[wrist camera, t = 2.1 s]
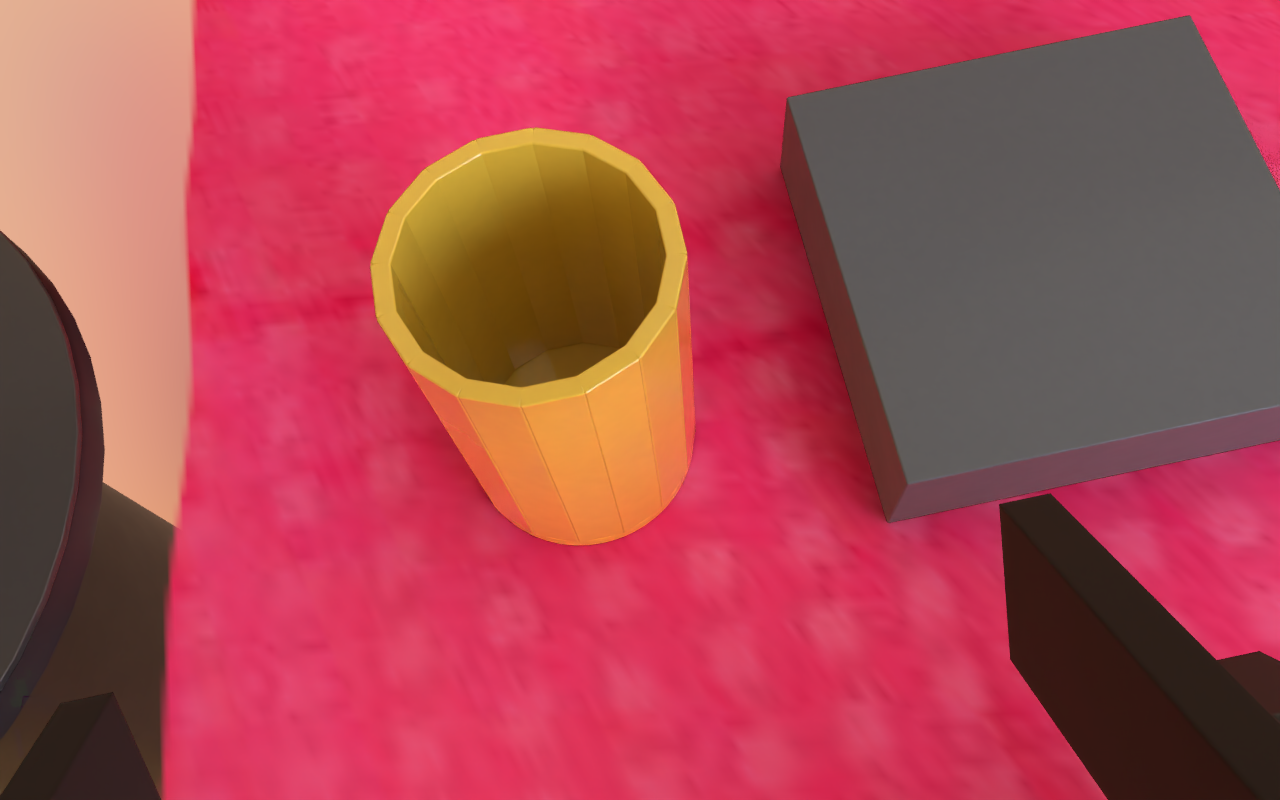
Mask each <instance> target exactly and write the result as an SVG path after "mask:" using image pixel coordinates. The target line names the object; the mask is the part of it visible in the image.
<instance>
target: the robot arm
mask: <svg viewBox="0 0 1280 800" xmlns="http://www.w3.org/2000/svg"><path fill="white" fill-rule="evenodd" d="M999 506H1000V521H1001V535H1002V549H1003V563H1004V577H1005V591H1006V605H1007V619H1008V633H1009V647H1010V660H1011V661H1012V662H1013V664H1014V665H1015V667H1016V668H1017V670H1018V671H1019V672H1020V674H1021V675H1022V677H1023V678H1024V680H1025V681H1026V683H1027V684H1028V685H1029V687H1030V688H1031V690H1032V691H1033V693H1034V694H1035V695H1036V697H1037V698H1038V700H1039V701H1040V703H1041V704H1042V705H1043V707H1044V708H1045V710H1046V711H1047V713H1048V714H1049V716H1050V717H1051V718H1052V720H1053V721H1054V723H1055V724H1056V726H1057V727H1058V728H1059V730H1060V731H1061V733H1062V734H1063V736H1064V737H1065V739H1066V740H1067V741H1068V743H1069V744H1070V746H1071V747H1072V749H1073V750H1074V751H1075V753H1076V754H1077V756H1078V757H1079V759H1080V760H1081V761H1082V763H1083V764H1084V766H1085V767H1086V769H1087V770H1088V772H1089V773H1090V774H1091V776H1092V777H1093V779H1094V780H1095V782H1096V783H1097V784H1098V786H1099V787H1100V789H1101V790H1102V792H1103V793H1104V794H1105V796H1106V797H1107V799H1108V800H1280V661H1278V660H1276V659H1274V658H1272V657H1270V656H1268V655H1266V654H1264V653H1262V652H1260V651H1258V652H1253V653H1249V654H1244V655H1239V656H1235V657H1230V658H1225V659H1221V660H1216V659H1215V658H1214V657H1213V656H1212V655H1211V654H1210V653H1209V652H1208V651H1207V650H1206V649H1205V648H1204V647H1203V646H1202V645H1201V644H1200V643H1199V642H1198V641H1197V640H1196V639H1195V638H1194V637H1193V636H1192V635H1191V634H1190V633H1189V632H1188V631H1187V630H1186V629H1185V628H1184V627H1183V626H1182V625H1181V624H1180V623H1179V622H1178V621H1177V620H1176V619H1175V618H1174V617H1173V616H1172V615H1171V614H1170V613H1169V612H1168V611H1167V610H1166V609H1165V608H1164V607H1163V606H1162V605H1161V604H1160V603H1159V602H1158V601H1157V600H1156V599H1155V598H1154V597H1153V596H1152V595H1151V594H1150V593H1149V592H1148V591H1147V590H1146V589H1145V588H1144V587H1143V586H1142V585H1141V584H1140V583H1139V582H1138V581H1137V580H1136V579H1135V578H1134V577H1133V576H1132V575H1131V574H1130V573H1129V572H1128V571H1127V570H1126V569H1125V568H1124V567H1123V566H1122V565H1121V564H1120V563H1119V562H1118V561H1117V560H1116V559H1115V558H1114V557H1113V556H1112V555H1111V554H1110V553H1109V552H1108V551H1107V550H1106V549H1105V548H1104V547H1103V546H1102V545H1101V544H1100V543H1099V542H1098V541H1097V540H1096V539H1095V538H1094V537H1093V536H1092V535H1091V534H1090V533H1089V532H1088V531H1087V530H1086V529H1085V528H1084V527H1083V526H1082V525H1081V524H1080V523H1079V522H1078V521H1077V520H1076V519H1075V518H1074V517H1073V516H1072V515H1071V514H1070V513H1069V512H1068V511H1067V510H1066V509H1065V508H1064V507H1063V506H1062V505H1061V504H1060V503H1059V502H1058V501H1057V500H1056V499H1055V498H1054V497H1053V496H1052V495H1051V494H1045V495H1041V496H1036V497H1031V498H1027V499H1022V500H1017V501H1012V502H1008V503H1003V504H999ZM0 800H161V798H160V796H159V794H158V792H157V789H156V787H155V785H154V783H153V780H152V778H151V776H150V774H149V772H148V769H147V767H146V765H145V763H144V760H143V758H142V756H141V754H140V751H139V749H138V747H137V745H136V743H135V740H134V738H133V736H132V734H131V731H130V729H129V727H128V725H127V722H126V720H125V718H124V716H123V714H122V711H121V709H120V707H119V705H118V702H117V700H116V698H115V696H114V694H113V692H111V693H107V694H102V695H97V696H93V697H88V698H83V699H78V700H74V701H69V702H64V703H60V705H59V706H58V708H57V709H56V711H55V713H54V714H53V716H52V717H51V719H50V720H49V722H48V723H47V725H46V726H45V728H44V729H43V731H42V733H41V734H40V736H39V737H38V739H37V740H36V742H35V743H34V745H33V746H32V748H31V750H30V751H29V753H28V754H27V756H26V757H25V759H24V760H23V762H22V763H21V765H20V767H19V768H18V770H17V771H16V773H15V774H14V776H13V777H12V779H11V780H10V782H9V784H8V785H7V787H6V788H5V790H4V791H3V793H2V794H1V796H0Z"/></svg>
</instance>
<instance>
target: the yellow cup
mask: <svg viewBox="0 0 1280 800" xmlns="http://www.w3.org/2000/svg"><path fill="white" fill-rule="evenodd" d="M370 271H371V280H372V289H373V297H374V306H375V314H376V318H377V322H378V323H379V325H380V326H381V328H382V329H383V331H384V333H385V334H386V336H387V337H388V339H389V341H390V342H391V344H392V345H393V347H394V348H395V350H396V352H397V353H398V355H399V356H400V358H401V360H402V361H403V363H404V364H405V366H406V367H407V369H408V371H409V372H410V374H411V375H412V377H413V379H414V380H415V382H416V383H417V385H418V386H419V388H420V390H421V391H422V393H423V394H424V396H425V398H426V399H427V401H428V402H429V404H430V406H431V407H432V409H433V410H434V412H435V413H436V415H437V417H438V418H439V420H440V421H441V423H442V425H443V426H444V428H445V429H446V431H447V432H448V434H449V436H450V437H451V439H452V440H453V442H454V444H455V445H456V447H457V448H458V450H459V451H460V453H461V455H462V456H463V458H464V459H465V461H466V463H467V464H468V466H469V467H470V469H471V470H472V472H473V474H474V475H475V477H476V478H477V480H478V481H479V483H480V485H481V486H482V488H483V489H484V491H485V492H486V494H487V495H488V497H489V499H490V500H491V502H492V503H493V505H494V506H495V508H496V509H497V510H498V511H499V512H500V513H502V514H503V515H504V516H505V517H506V518H507V519H508V520H509V521H510V522H512V523H513V524H514V525H516V526H517V527H518V528H520V529H522V530H523V531H525V532H527V533H529V534H531V535H533V536H535V537H538V538H540V539H543V540H546V541H550V542H554V543H558V544H566V545H593V544H600V543H605V542H609V541H612V540H616V539H619V538H621V537H624V536H626V535H629V534H631V533H633V532H635V531H636V530H638V529H640V528H642V527H643V526H645V525H646V524H648V523H649V522H650V521H652V520H653V519H654V518H656V517H657V516H658V515H659V514H660V513H661V512H662V511H663V510H664V509H665V508H666V507H667V506H668V504H669V503H670V502H671V501H672V499H673V498H674V497H675V495H676V494H677V492H678V491H679V489H680V487H681V485H682V484H683V482H684V479H685V477H686V475H687V472H688V470H689V466H690V462H691V458H692V453H693V445H694V435H695V409H694V388H693V366H692V345H691V323H690V302H689V280H688V259H687V250H686V246H685V242H684V238H683V234H682V230H681V226H680V222H679V218H678V214H677V210H676V206H675V204H674V202H673V200H672V199H671V198H670V196H669V195H668V194H667V193H666V191H665V190H664V189H663V188H662V187H661V185H660V184H659V183H658V182H657V180H656V179H655V178H654V177H653V176H652V174H651V173H650V172H649V171H648V169H647V168H646V167H645V166H644V165H643V163H642V162H640V161H639V159H637V158H635V157H633V156H631V155H629V154H627V153H625V152H623V151H622V150H620V149H618V148H616V147H614V146H612V145H610V144H608V143H606V142H604V141H602V140H601V139H599V138H597V137H595V136H593V135H589V134H583V133H575V132H567V131H559V130H551V129H543V128H527V129H522V130H517V131H512V132H507V133H502V134H497V135H492V136H487V137H482V138H478V139H476V140H473V141H471V142H469V143H467V144H466V145H464V146H462V147H460V148H459V149H457V150H455V151H454V152H452V153H450V154H448V155H447V156H445V157H443V158H441V159H440V160H438V161H436V162H435V163H433V164H431V165H429V166H428V167H426V168H425V169H424V170H422V172H421V173H420V174H419V175H418V176H417V177H416V179H415V180H414V181H413V182H412V183H411V185H410V186H409V187H408V188H407V189H406V190H405V192H404V193H403V194H402V195H401V196H400V197H399V199H398V200H397V201H396V202H395V203H394V205H393V206H392V207H391V208H390V209H389V211H388V213H387V214H386V217H385V220H384V224H383V227H382V230H381V233H380V236H379V239H378V242H377V245H376V248H375V251H374V254H373V257H372V260H371V266H370Z"/></svg>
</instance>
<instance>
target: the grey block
mask: <svg viewBox="0 0 1280 800" xmlns="http://www.w3.org/2000/svg"><path fill="white" fill-rule="evenodd" d="M780 167H781V170H782V174H783V177H784V180H785V184H786V187H787V190H788V194H789V197H790V200H791V204H792V207H793V210H794V214H795V217H796V220H797V224H798V227H799V230H800V234H801V237H802V240H803V244H804V247H805V250H806V254H807V257H808V260H809V264H810V267H811V270H812V274H813V277H814V280H815V284H816V287H817V290H818V294H819V297H820V300H821V304H822V307H823V310H824V314H825V317H826V320H827V324H828V327H829V330H830V334H831V337H832V340H833V344H834V347H835V350H836V354H837V357H838V361H839V364H840V367H841V371H842V374H843V377H844V381H845V384H846V387H847V391H848V394H849V397H850V401H851V404H852V407H853V411H854V414H855V417H856V421H857V424H858V427H859V431H860V434H861V437H862V441H863V444H864V447H865V451H866V454H867V457H868V461H869V464H870V467H871V471H872V474H873V477H874V481H875V484H876V487H877V491H878V494H879V497H880V501H881V504H882V507H883V511H884V514H885V517H886V521H887V522H888V523H891V522H896V521H900V520H905V519H910V518H915V517H919V516H924V515H929V514H933V513H938V512H943V511H948V510H952V509H957V508H962V507H967V506H971V505H976V504H981V503H985V502H990V501H995V500H1000V499H1004V498H1009V497H1014V496H1018V495H1023V494H1028V493H1033V492H1037V491H1042V490H1047V489H1052V488H1056V487H1061V486H1066V485H1070V484H1075V483H1080V482H1085V481H1089V480H1094V479H1099V478H1104V477H1108V476H1113V475H1118V474H1122V473H1127V472H1132V471H1137V470H1141V469H1146V468H1151V467H1155V466H1160V465H1165V464H1170V463H1174V462H1179V461H1184V460H1189V459H1193V458H1198V457H1203V456H1207V455H1212V454H1217V453H1222V452H1226V451H1231V450H1236V449H1240V448H1245V447H1250V446H1255V445H1259V444H1264V443H1269V442H1274V441H1278V440H1280V190H1279V188H1278V186H1277V184H1276V182H1275V180H1274V178H1273V176H1272V174H1271V172H1270V171H1269V169H1268V167H1267V165H1266V163H1265V161H1264V159H1263V157H1262V155H1261V153H1260V151H1259V149H1258V147H1257V145H1256V143H1255V141H1254V139H1253V137H1252V135H1251V133H1250V131H1249V130H1248V128H1247V126H1246V124H1245V122H1244V120H1243V118H1242V116H1241V114H1240V112H1239V110H1238V108H1237V106H1236V104H1235V102H1234V100H1233V98H1232V96H1231V94H1230V92H1229V90H1228V88H1227V87H1226V85H1225V83H1224V81H1223V79H1222V77H1221V75H1220V73H1219V71H1218V69H1217V67H1216V65H1215V63H1214V61H1213V59H1212V57H1211V55H1210V53H1209V51H1208V49H1207V47H1206V45H1205V44H1204V42H1203V40H1202V38H1201V36H1200V34H1199V32H1198V30H1197V28H1196V26H1195V24H1194V22H1193V20H1192V18H1191V16H1184V17H1179V18H1174V19H1169V20H1164V21H1159V22H1154V23H1149V24H1144V25H1139V26H1135V27H1130V28H1125V29H1120V30H1115V31H1110V32H1105V33H1100V34H1095V35H1091V36H1086V37H1081V38H1076V39H1071V40H1066V41H1061V42H1056V43H1051V44H1046V45H1042V46H1037V47H1032V48H1027V49H1022V50H1017V51H1012V52H1007V53H1002V54H997V55H993V56H988V57H983V58H978V59H973V60H968V61H963V62H958V63H953V64H948V65H944V66H939V67H934V68H929V69H924V70H919V71H914V72H909V73H904V74H900V75H895V76H890V77H885V78H880V79H875V80H870V81H865V82H860V83H855V84H851V85H846V86H841V87H836V88H831V89H826V90H821V91H816V92H811V93H806V94H802V95H797V96H792V97H788V98H787V101H786V112H785V122H784V133H783V143H782V154H781V165H780Z"/></svg>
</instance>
